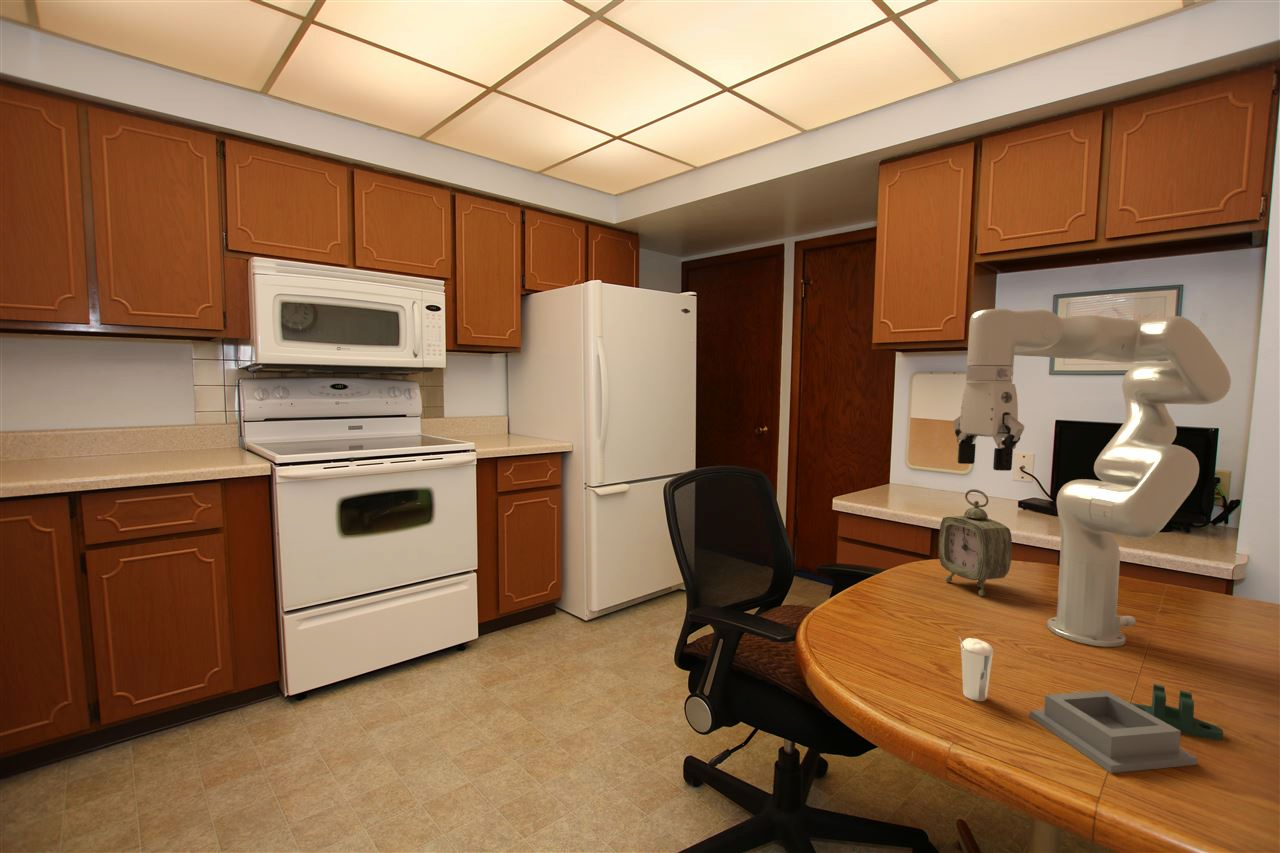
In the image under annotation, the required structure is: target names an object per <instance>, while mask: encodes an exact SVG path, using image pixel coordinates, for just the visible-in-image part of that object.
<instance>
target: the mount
mask: <svg viewBox="0 0 1280 853" xmlns="http://www.w3.org/2000/svg"><path fill="white" fill-rule="evenodd" d="M1165 689H1166V688H1165V686H1164V685H1161V684H1160V685H1159V684H1156V683H1153V685H1152V701H1151V705H1147V704H1139V703H1131V702H1130V703H1131V704H1132V705H1134V706H1136V707H1138V708H1140V709H1142V710H1143V711H1145V712H1147V713H1149V714H1151V715H1153V716H1154V717H1156V718H1158V719H1160V720H1162V721H1163V722H1165V723H1167V724H1169V725H1171V726H1173V727H1174V728H1176V729H1178V730H1180V731H1181V732H1180V734H1184V735H1187V736H1191V737H1196V738H1203V739H1207V740H1209V739H1210V740H1214V741H1222V740H1223V739H1224V730H1223V729H1222V728H1221V727H1219V726H1217V725H1214V724H1211V723H1209V722H1206V721H1204V720H1202V719H1198V718H1195V717H1194V713H1195V703H1194V699H1192V698H1193V694H1192V692H1188V691H1185V690H1179V698H1178V708H1177V707H1173V706H1170V705H1167V694H1166V692H1165Z"/></svg>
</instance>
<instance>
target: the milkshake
mask: <svg viewBox="0 0 1280 853" xmlns="http://www.w3.org/2000/svg"><path fill="white" fill-rule="evenodd" d="M958 638H959V642H960V656H961V674H962V693H963V695H964V697H966V698H967V699H969V700H971V701H976V702H985V701H986V700H987V698H988V691H989V685H990V684H989V683H990V676H991V668H992V661H993V656H994V649H993V647H992V646H991V644H989V643H988V642H987V641H983V640H981V639H979V638H973V637H968V638H967V637H966V638H965V639H964V640H962V639H961V636H958Z"/></svg>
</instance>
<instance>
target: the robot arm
mask: <svg viewBox="0 0 1280 853" xmlns="http://www.w3.org/2000/svg"><path fill="white" fill-rule="evenodd" d="M967 342H968V344H967V362H966V375H965V380H966V381H965V386H964V390H963V395H962V400H961V407H960V414H959V416H958V417H956V418H955V419H954V420H953V421H952V423H953V427H954V434H955V436H956V437H957V438H956V443H958V449H957V450H958V451H957V463H958V464H961V465H974V464H975V462H976V460H975V459H976V443H974V441H975V440H976V439H977V437H984V438H985V437H987V438H992V439H993V441H994V443H995V445H996V446H997V447H994V452H993V464H992V466H993V467H992V468H993V470H994V471H1000V472H1001V471H1005V472H1006V471H1011V470H1012V468H1013V456H1014V454H1013V453H1014V449H1016V447H1017V444H1018V443H1019V442H1020V441H1021V436H1022V434H1023V433H1024V430H1025V425H1024V424H1023V423H1021V422H1020V421H1019V407H1018V404H1019V402H1018V394H1017V388H1016V384H1015V383H1013V378H1014V365H1015V363H1014V362H1015V356H1021V357H1038V358H1039V357H1041V358H1042V357H1043V358H1054V359H1055V358H1056V359H1067V360H1070V359H1071V360H1073V359H1075V360H1076V359H1077V360H1091V361H1103V362H1111V363H1112V362H1115V363H1125V364H1128V363H1129V364H1131V363H1134V364H1136V363H1140V364H1138V365H1135V366H1133V367H1131V368H1130V369H1128V371H1126V373H1125V374H1124V376H1123V379H1122V383H1121V387H1122V388H1121V389H1122V394H1123V397H1124V398H1123V400H1124V402H1125V408H1126V409H1125V410H1126V411H1125V412H1126V413H1125V414H1126V415H1125V416H1126V417H1125V420H1124V422H1123V423H1122V425H1121V426H1120V428H1119V429H1118V430H1117V432H1116V433H1115V434H1114V436H1113V437H1112V438H1111V439H1109V440H1110V441H1109V442H1108V443H1107V444H1106V446H1105V447H1104V448H1103V449H1102V451H1100V453H1099V455H1098V456H1097V458H1095V459H1096V460H1094V461H1095V462H1094V465H1093V472H1094V474H1095V476H1096V477H1097V478H1098V479H1099V480H1096V479H1087V478H1085V479H1083V478H1081V479H1080V478H1079V479H1074V480H1070V481H1069V482H1068V481H1067V483H1065V484H1063V485H1062V487H1061V488H1060V490H1058V493H1057V496H1056V509H1057V515H1058V521H1059V525H1060V526H1059V529H1060V552H1059V571H1058V585H1057V586H1058V587H1057V588H1058V590H1057V608H1056V616H1054V617H1050V618H1048V619H1047V622H1046V623H1047V624H1046V627H1047V628H1048V629H1049V631H1051V632H1052V633H1054V634H1055V635H1057V636H1060V637H1062V638H1064V639H1066V640H1069V641H1073V642H1076V643H1079V644H1084V645H1088V646H1089V645H1090V646H1096V647H1103V648H1104V647H1106V648H1113V647H1114V648H1116V647H1120V646H1123V645H1124V644H1125V643H1126V636H1125V635H1124V633H1123V632H1121V631H1120V628H1121V629H1122V628H1123V627H1132V626H1135V624H1136V622H1137V621H1136V618H1135V617H1134V616H1132V615H1118V614H1117V610H1118V598H1119V597H1118V591H1119V579H1120V563H1121V552H1120V547H1119V544H1118V541H1117V539H1116V537H1115V535H1114V534H1116V535H1119V536H1124V537H1129V538H1133V539H1148V538H1151V537H1154V536H1155V535H1157V534H1159V533H1160V531H1161V530H1163V529H1164V528H1165V526H1166V525H1167V523H1169V521H1170V520H1171V519H1172V518H1173V516H1174V515H1175V514H1176V512H1177V511H1178V509H1179V508H1180V507H1181V506H1182V504H1183V503H1184V502H1185V500H1186V499H1187V498H1188V497H1189V496H1190V494H1191V492H1192V491H1193V489H1194V488H1195V486H1196V485H1197V482H1198V479H1199V474H1200V463H1199V460H1198V458H1197V457H1196V455H1195V453H1193V452H1192V451H1191V450H1189V449H1187V447H1183V446H1182V445H1181V446H1180V445H1177V444H1173V442H1174V441H1175V439H1176V437H1177V432H1178V431H1177V426H1176V423H1175V422H1174V420H1173V417H1172V416H1171V414H1170V413H1169V411H1168V409H1167V406H1166V405H1210V404H1211V405H1212V404H1214V403H1217V402H1219V401H1221V400H1222V399H1224V398H1225V397H1226V396H1227V394H1228V392H1229V391H1230V389H1231V382H1232V381H1231V374H1230V372H1229V369H1228V367H1227V365H1226V364H1225V362H1224V360H1222V358H1221V356H1220V355H1219V353H1218V352H1217V350H1216V349H1215V348H1214V346H1213V345H1212V343H1211V342H1210V341H1209V339H1208V337H1207V336H1206V335H1205V333H1204V332H1202V330H1201V329H1200V328H1199V327H1198V326H1197V325H1196V324H1195V323H1194V322H1192V321H1191V320H1190V319H1188V318H1185V317H1184V316H1178V315H1174V316H1173V315H1172V316H1162V317H1153V318H1146V319H1145V318H1144V319H1128V318H1119V317H1117V318H1116V317H1111V316H1109V317H1108V316H1099V315H1093V314H1091V315H1089V314H1088V315H1071V316H1063V317H1060V316H1059V315H1058V314H1057V313H1055V312H1052V311H1051V310H1046V309H1034V310H1014V311H1013V310H1011V309H1006V308H989V309H981V310H977V311H975V312H973V313H972V315H971V316H970V319H969V327H968V341H967ZM1141 363H1142V364H1141Z"/></svg>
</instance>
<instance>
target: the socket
mask: <svg viewBox="0 0 1280 853" xmlns="http://www.w3.org/2000/svg"><path fill="white" fill-rule="evenodd" d="M1044 695H1045V697H1044V709H1032V710H1029V718H1031V719H1032V720H1033V721H1035V722H1037V723H1038V724H1039V725H1041V726H1042V727H1043V728H1045V729H1046V730H1047V731H1049V732H1051V733H1052V734H1054V735H1055V736H1056V737H1057V738H1059V739H1061V740H1062V741H1064V742H1065V743H1066V744H1068V745H1070V746H1071V747H1072V748H1074V749H1075V750H1077V751H1078V752H1080V754H1083V755H1084V756H1085V757H1087V759H1088V758H1089V759H1090V760H1091V761H1092V762H1094V763H1095V764H1096V765H1098V766H1100V767H1101V768H1103V769H1105V771H1107V772H1108V773H1110V774H1115V773H1116V774H1117V773H1126V772H1137V771H1146V770H1156V769H1167V768H1168V769H1169V768H1178V767H1189V766H1197V765H1198V756H1196V755H1193V754H1192V753H1190V752H1188V751H1187V750H1185V749H1184V748H1182V747H1180V744H1181V733H1180V732H1181V731H1180V730H1178V729H1176V728H1174V727H1173V726H1171V725H1169V724H1167V723H1165V722H1163V721H1162V720H1160V719H1158V718H1156V717H1154V716H1153V715H1151V714H1149V713H1147V712H1145V711H1143V710H1142V709H1140V708H1138V707H1136V706H1134V705H1132V704H1131V702H1129V701H1126V700H1125V699H1123V698H1122V697H1119V696H1117V695H1116V694H1114V693H1112V692H1111V691H1109V690H1096V691H1083V692H1082V691H1081V692H1070V693H1069V692H1068V693H1056V694H1055V693H1054V694H1044Z"/></svg>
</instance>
